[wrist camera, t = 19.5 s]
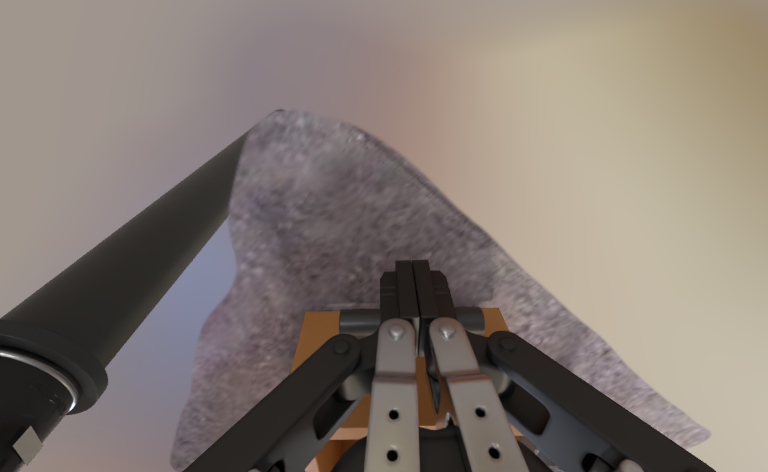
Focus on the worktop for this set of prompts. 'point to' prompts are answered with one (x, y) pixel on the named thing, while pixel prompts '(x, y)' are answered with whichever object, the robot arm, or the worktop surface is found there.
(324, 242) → the worktop surface
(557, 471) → the beverage can
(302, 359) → the drawer
